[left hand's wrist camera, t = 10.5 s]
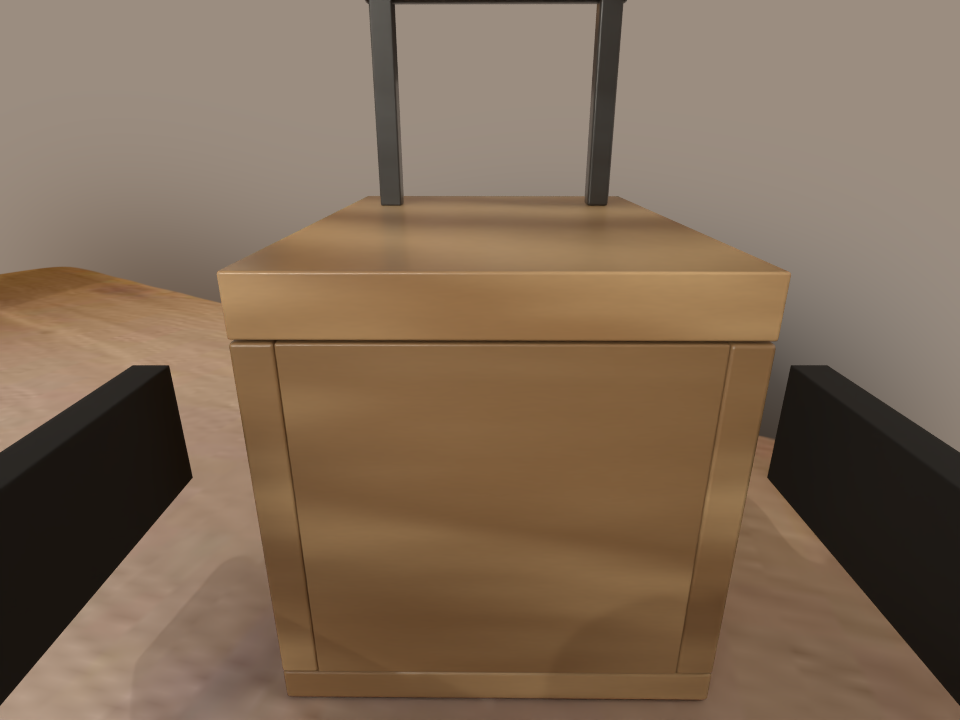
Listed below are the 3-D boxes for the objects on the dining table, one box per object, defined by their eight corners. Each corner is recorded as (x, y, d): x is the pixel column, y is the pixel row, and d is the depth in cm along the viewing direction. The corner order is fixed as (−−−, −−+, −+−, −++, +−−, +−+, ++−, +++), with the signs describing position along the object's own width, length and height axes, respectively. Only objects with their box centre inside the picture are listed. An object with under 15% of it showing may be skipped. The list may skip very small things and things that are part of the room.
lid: (369, 228, 23) (350, -45, 20) (616, 229, 23) (639, -46, 20) (226, 341, 10) (105, -376, 7) (779, 342, 10) (923, -382, 7)
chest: (380, 433, 26) (365, 232, 23) (602, 434, 26) (620, 233, 23) (286, 698, 14) (227, 343, 10) (707, 701, 14) (778, 345, 10)
